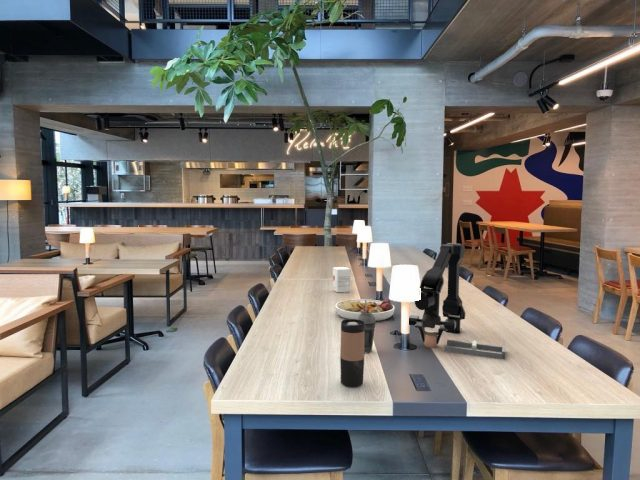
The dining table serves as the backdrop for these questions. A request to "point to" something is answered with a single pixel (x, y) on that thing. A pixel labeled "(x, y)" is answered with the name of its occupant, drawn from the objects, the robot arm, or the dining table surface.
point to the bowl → (357, 306)
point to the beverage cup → (368, 329)
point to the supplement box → (341, 279)
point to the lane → (474, 351)
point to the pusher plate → (474, 345)
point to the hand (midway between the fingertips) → (430, 343)
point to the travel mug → (352, 352)
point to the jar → (430, 338)
